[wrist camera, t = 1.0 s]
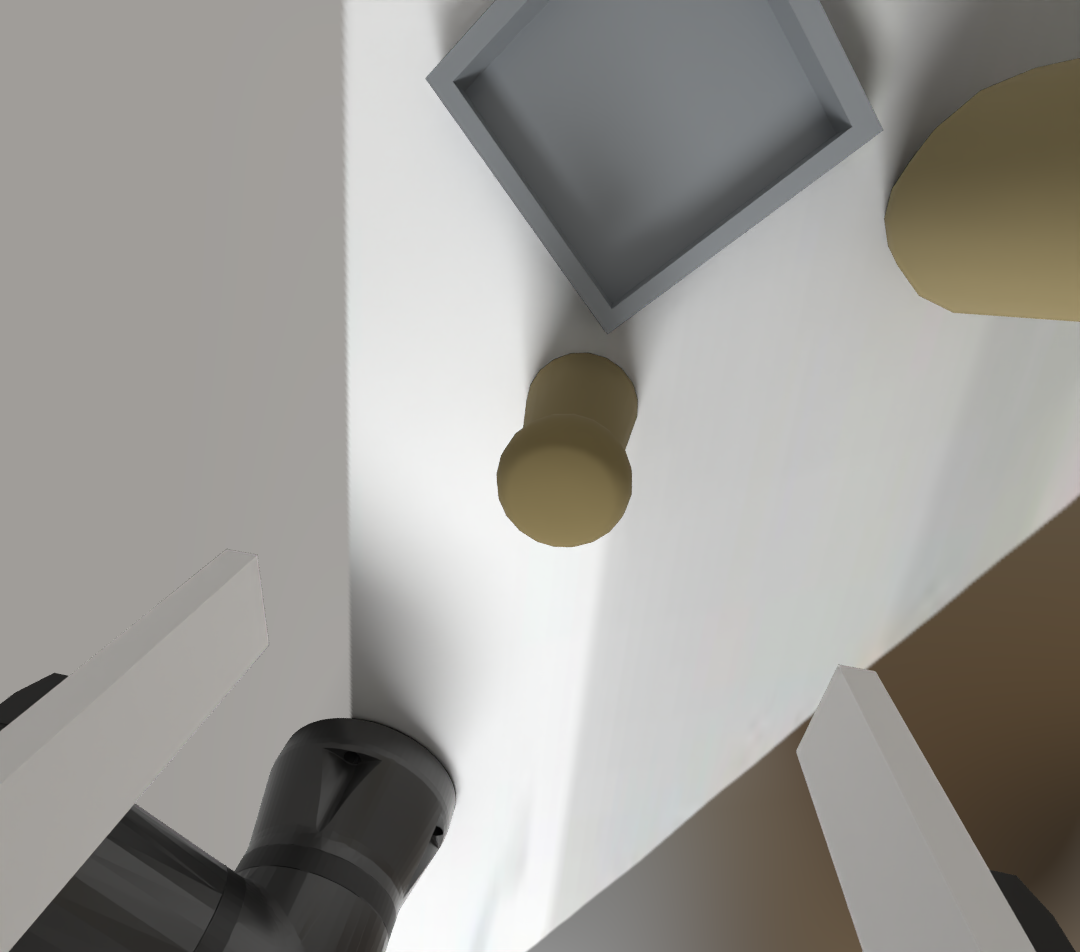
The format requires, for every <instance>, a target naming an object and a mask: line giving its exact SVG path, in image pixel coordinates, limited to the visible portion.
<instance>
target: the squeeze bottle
mask: <svg viewBox="0 0 1080 952" xmlns="http://www.w3.org/2000/svg"><path fill="white" fill-rule="evenodd" d="M884 220H885V228H886V235H887V242H888V247H889V249H890V251H891V253H892V255H893V257H894V259H895V261H896V263H897V265H898V267H899V268H900V269H901V271H902V272H903V274H904V275H905V277H906V278H907V279H908V281H909V282H910V284H911V285H912V286H913V288H914V289H915V291H916V292H917V294H918V295H919V296H921V297H923V298H925V299H927V300H929V301H931V302H933V303H935V304H937V305H939V306H941V307H943V308H945V309H947V310H949V311H951V312H953V313H965V314H979V315H993V316H1007V317H1021V318H1035V319H1050V320H1064V321H1078V322H1080V58H1078V59H1073V60H1069V61H1064V62H1060V63H1055V64H1051V65H1046V66H1042V67H1037V68H1034V69H1031V70H1029V71H1026V72H1024V73H1022V74H1019V75H1017V76H1014V77H1012V78H1010V79H1007V80H1005V81H1002V82H1000V83H998V84H995V85H993V86H990V87H988V88H986V89H983V90H981V91H980V92H978V93H977V94H976V95H975V96H974V97H972V98H971V99H970V100H969V101H968V102H966V103H965V104H964V105H963V106H962V107H961V108H959V109H958V110H957V111H956V112H955V113H953V114H952V115H951V116H950V117H949V118H947V119H946V120H945V121H944V122H943V123H942V124H940V125H939V126H938V127H937V128H936V129H935V130H934V131H933V132H932V133H931V135H930V136H929V137H928V139H927V140H926V141H925V142H924V144H923V145H922V146H921V148H920V149H919V150H918V151H917V153H916V154H915V155H914V157H913V158H912V159H911V161H910V162H909V164H908V165H907V167H906V168H905V170H904V171H903V173H902V174H901V176H900V177H899V179H898V180H897V182H896V184H895V185H894V187H893V188H892V191H891V195H890V199H889V203H888V206H887V210H886V214H885V218H884Z"/></svg>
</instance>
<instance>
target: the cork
mask: <svg viewBox="0 0 1080 952" xmlns="http://www.w3.org/2000/svg"><path fill="white" fill-rule="evenodd" d="M637 401H638V399H637V396H636V393H635V390H634V387H633V384H632V382H631V380H630V379H629V378H628V376H627V375H626V374H625V372H624V371H623V370H622V368H620V367H619V366H617V365H616V364H614V363H613V362H612V361H610V360H609V359H607V358H605V357H601V356H598V355H595V354H591V353H570V354H568V355H565V356H562V357H559V358H556V359H554V360H553V361H551V362H550V363H549V364H547V365H546V366H545V367H544V368H542V369H541V370H540V371H539V373H538V374H537V376H536V377H535V379H534V380H533V382H532V383H531V385H530V389H529V393H528V397H527V401H526V409H525V417H524V425H523V428H522V429H521V430H520V431H518V432H517V433H516V434H515V435H514V437H513V438H512V439H511V441H510V442H509V444H508V445H507V447H506V448H505V450H504V452H503V453H502V455H501V458H500V462H499V466H498V470H497V486H498V496H499V500H500V503H501V505H502V507H503V509H504V511H505V514H506V516H507V517H508V518H509V519H510V520H511V521H512V523H513V524H514V525H515V526H516V527H517V528H518V529H519V530H520V531H521V532H523V533H524V534H526V535H527V536H529V537H531V538H532V539H534V540H535V541H537V542H540V543H544V544H547V545H550V546H554V547H575V546H579V545H583V544H587V543H591V542H594V541H595V540H597V539H599V538H600V537H602V536H604V535H605V534H607V533H609V532H610V531H611V530H612V528H613V527H614V526H615V525H616V524H617V523H618V521H619V520H620V519H621V518H622V516H623V514H624V513H625V510H626V508H627V505H628V502H629V500H630V497H631V495H632V470H631V466H630V463H629V460H628V457H627V454H626V451H625V449H626V446H627V443H628V440H629V438H630V435H631V432H632V429H633V427H634V424H635V421H636V418H637Z"/></svg>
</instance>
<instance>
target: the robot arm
mask: <svg viewBox="0 0 1080 952" xmlns="http://www.w3.org/2000/svg"><path fill="white" fill-rule="evenodd" d="M268 646H269V639H268V631H267V624H266V616H265V608H264V601H263V593H262V585H261V578H260V570H259V562H258V555H256V554H251V553H246V552H240V551H235V550H230V549H226V550H225V551H223V552H222V553H221V554H220V555H218V556H217V557H216V558H215V559H213V560H212V561H211V562H210V563H208V564H207V565H206V566H205V567H203V568H202V569H201V570H200V571H198V572H197V573H196V574H195V575H193V576H192V577H191V578H190V579H189V580H187V581H186V582H185V583H184V584H182V585H181V586H180V587H179V588H177V589H176V590H175V591H174V592H172V593H171V594H170V595H169V596H167V597H166V598H165V599H164V600H163V601H161V602H160V603H159V604H158V605H156V606H155V607H154V608H153V609H151V610H150V611H149V612H148V613H147V614H145V615H144V616H143V617H142V618H141V619H139V620H138V621H137V622H135V623H134V624H133V625H132V626H130V627H129V628H128V629H126V631H124V632H123V633H122V634H120V635H119V636H118V637H117V638H115V639H114V640H113V641H112V642H110V643H109V644H108V645H107V646H105V647H104V648H103V649H102V650H101V651H99V652H98V653H97V654H95V655H94V656H93V657H92V658H91V659H89V660H88V661H87V662H86V663H84V664H83V665H82V666H81V667H79V669H77V670H76V671H74V672H73V673H72V674H71V675H69V676H66V675H61V674H57V673H53V674H51V675H49V676H47V677H45V678H43V679H41V680H40V681H38V682H35V683H33V684H31V685H29V686H28V687H25V688H23V689H21V690H20V691H17V692H16V693H14V694H13V695H12V696H10V697H9V698H8V699H6V700H5V701H4V702H2V703H1V704H0V952H385V951H386V948H387V945H388V941H389V938H390V935H391V932H392V929H393V926H394V923H395V921H396V918H397V915H398V912H399V910H400V908H401V906H402V905H403V903H404V902H405V900H406V898H407V897H408V895H409V894H410V892H411V891H412V889H413V888H414V886H415V885H416V883H417V882H418V880H419V878H420V877H421V875H422V874H423V872H424V871H425V869H426V868H427V866H428V865H429V863H430V862H431V860H432V859H433V857H434V855H435V854H436V852H437V851H438V849H439V848H440V846H441V845H442V843H443V841H444V839H445V837H446V835H447V832H448V829H449V825H450V822H451V819H452V815H453V812H454V808H455V801H456V797H455V790H454V786H453V784H452V781H451V779H450V777H449V775H448V773H447V772H446V770H445V769H444V767H443V766H442V765H441V763H440V762H439V761H438V760H437V759H436V758H435V757H434V756H433V755H432V754H431V753H430V752H429V751H428V750H427V749H425V748H424V747H423V746H421V745H420V744H419V743H417V742H416V741H414V740H413V739H411V738H409V737H407V736H406V735H404V734H402V733H400V732H398V731H396V730H393V729H391V728H388V727H386V726H383V725H380V724H377V723H373V722H369V721H364V720H358V719H349V718H333V719H325V720H320V721H317V722H313V723H310V724H308V725H306V726H304V727H302V728H301V729H299V730H298V731H297V732H296V733H295V734H293V736H292V737H291V738H290V740H289V741H288V742H287V744H286V746H285V747H284V749H283V750H282V752H281V753H280V755H279V756H278V758H277V759H276V761H275V763H274V765H273V767H272V769H271V772H270V775H269V779H268V782H267V785H266V789H265V793H264V796H263V799H262V803H261V806H260V810H259V813H258V817H257V820H256V824H255V827H254V830H253V834H252V837H251V841H250V844H249V847H248V849H247V851H246V853H245V855H244V856H243V858H242V860H241V861H240V863H239V865H238V867H237V868H236V870H235V871H232V870H231V869H230V868H228V867H227V866H226V865H224V864H222V863H221V862H219V861H218V860H216V859H215V858H214V857H212V856H211V855H209V854H208V853H206V852H205V851H203V850H202V849H200V848H199V847H198V846H196V845H195V844H193V843H192V842H190V841H189V840H187V839H186V838H184V837H183V836H182V835H180V834H179V833H177V832H176V831H174V830H173V829H171V828H170V827H168V826H167V825H166V824H164V823H163V822H161V821H160V820H158V819H157V818H155V817H154V816H152V815H151V814H150V813H148V812H147V811H145V810H144V809H142V808H141V807H139V806H138V805H137V804H135V802H136V801H137V800H138V799H139V798H140V797H141V795H142V794H143V793H144V792H145V791H146V789H147V788H148V787H149V786H150V785H151V784H152V782H153V781H154V780H155V779H156V778H157V777H158V775H159V774H160V773H161V772H162V771H163V769H164V768H165V767H166V766H167V765H168V764H169V762H170V761H171V760H172V759H173V758H174V757H175V755H176V754H177V753H178V752H179V751H180V750H181V748H182V747H183V746H184V745H185V743H186V742H187V741H188V740H189V739H190V738H191V737H192V735H193V734H194V733H195V732H196V731H197V730H198V728H199V727H200V726H201V725H202V723H203V722H204V721H205V720H206V719H207V718H208V717H209V715H210V714H211V713H212V712H213V711H214V710H215V708H216V707H217V706H218V705H219V703H220V702H221V701H222V700H223V699H224V698H225V697H226V695H227V694H228V693H229V692H230V691H231V689H232V688H233V687H234V686H235V685H236V684H237V682H238V681H239V680H240V679H241V678H242V676H243V675H244V674H245V673H246V672H247V671H248V669H249V668H250V667H251V666H252V665H253V664H254V662H255V661H256V660H257V659H258V658H259V657H260V655H261V654H262V653H263V652H264V651H265V650H266V648H267V647H268ZM796 752H797V755H798V758H799V761H800V764H801V767H802V770H803V773H804V776H805V779H806V782H807V785H808V788H809V791H810V794H811V797H812V800H813V803H814V806H815V809H816V812H817V815H818V818H819V821H820V824H821V827H822V830H823V833H824V836H825V839H826V842H827V845H828V848H829V851H830V854H831V857H832V860H833V863H834V866H835V869H836V872H837V875H838V878H839V881H840V884H841V887H842V890H843V893H844V896H845V899H846V902H847V905H848V908H849V911H850V914H851V917H852V920H853V923H854V926H855V929H856V932H857V935H858V938H859V941H860V944H861V947H862V950H863V952H1076V951H1075V950H1074V948H1073V947H1072V945H1071V943H1070V942H1069V940H1068V939H1067V937H1066V936H1065V934H1064V932H1063V931H1062V929H1061V928H1060V926H1059V924H1058V923H1057V921H1056V920H1055V918H1054V916H1053V915H1052V914H1051V913H1050V912H1049V911H1048V910H1047V909H1046V908H1045V906H1044V905H1043V904H1042V903H1041V902H1040V901H1039V900H1038V899H1037V898H1036V897H1035V896H1034V895H1033V893H1032V892H1031V891H1030V890H1029V889H1028V888H1027V887H1026V886H1025V885H1024V884H1023V883H1022V881H1021V880H1020V879H1019V878H1018V877H1017V876H1016V875H1011V874H1006V873H1002V872H997V871H991V870H989V869H988V867H987V865H986V864H985V862H984V860H983V858H982V857H981V855H980V853H979V851H978V850H977V848H976V846H975V844H974V843H973V841H972V839H971V837H970V836H969V834H968V832H967V831H966V829H965V827H964V825H963V824H962V822H961V820H960V818H959V817H958V815H957V813H956V811H955V810H954V808H953V807H952V804H951V803H950V801H949V799H948V797H947V796H946V794H945V792H944V790H943V789H942V787H941V785H940V783H939V782H938V780H937V778H936V776H935V775H934V773H933V771H932V769H931V768H930V766H929V764H928V762H927V761H926V759H925V757H924V755H923V754H922V752H921V751H920V748H919V747H918V745H917V743H916V741H915V740H914V738H913V736H912V734H911V733H910V732H909V729H908V728H907V726H906V724H905V722H904V721H903V719H902V717H901V715H900V714H899V712H898V710H897V708H896V707H895V705H894V703H893V701H892V700H891V698H890V696H889V694H888V693H887V691H886V689H885V687H884V686H883V684H882V682H881V681H880V679H879V677H878V675H877V673H876V672H875V671H870V670H865V669H860V668H855V667H849V666H844V665H839V664H838V666H837V668H836V670H835V672H834V675H833V677H832V679H831V681H830V683H829V685H828V687H827V689H826V691H825V693H824V695H823V697H822V699H821V701H820V703H819V705H818V708H817V710H816V712H815V714H814V716H813V718H812V720H811V722H810V724H809V726H808V728H807V730H806V732H805V734H804V736H803V739H802V741H801V743H800V745H799V747H798V749H797V751H796Z"/></svg>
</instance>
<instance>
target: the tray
mask: <svg viewBox="0 0 1080 952" xmlns="http://www.w3.org/2000/svg"><path fill="white" fill-rule="evenodd" d="M425 79H426V80H427V81H428V83H429V84H430V86H431V87H432V88H433V90H434V91H435V93H436V94H437V95H438V97H439V98H440V100H441V101H442V102H443V104H444V105H445V107H446V108H447V110H448V111H449V112H450V114H451V115H452V117H453V118H454V119H455V121H456V122H457V124H458V125H459V126H460V128H461V129H462V131H463V132H464V133H465V135H466V136H467V138H468V139H469V140H470V142H471V143H472V145H473V146H474V148H475V149H476V150H477V152H478V153H479V155H480V156H481V157H482V159H483V160H484V162H485V163H486V164H487V166H488V167H489V169H490V170H491V171H492V173H493V174H494V176H495V177H496V178H497V180H498V181H499V183H500V184H501V186H502V187H503V188H504V190H505V191H506V193H507V194H508V195H509V197H510V198H511V200H512V201H513V202H514V204H515V205H516V207H517V208H518V209H519V211H520V212H521V214H522V215H523V216H524V218H525V219H526V221H527V222H528V223H529V225H530V226H531V228H532V229H533V231H534V232H535V233H536V235H537V236H538V238H539V239H540V240H541V242H542V243H543V245H544V246H545V247H546V249H547V250H548V252H549V253H550V254H551V256H552V257H553V259H554V260H555V261H556V263H557V264H558V266H559V267H560V269H561V270H562V271H563V273H564V274H565V276H566V277H567V278H568V280H569V281H570V283H571V284H572V285H573V287H574V288H575V290H576V291H577V292H578V294H579V295H580V297H581V298H582V299H583V301H584V302H585V304H586V305H587V306H588V308H589V309H590V311H591V312H592V314H593V315H594V316H595V318H596V319H597V321H598V322H599V323H600V325H601V326H602V328H603V329H604V330H605V332H606V333H607V334H609V333H610V332H611V331H613V330H614V329H615V328H617V327H618V326H619V325H621V324H622V323H623V322H625V321H626V320H628V319H629V318H630V317H632V316H633V315H634V314H636V313H637V312H638V311H640V310H641V309H642V308H644V307H645V306H646V305H648V304H649V303H651V302H652V301H653V300H655V299H656V298H657V297H659V296H660V295H661V294H663V293H664V292H665V291H667V290H668V289H669V288H671V287H672V286H673V285H675V284H676V283H678V282H679V281H680V280H682V279H683V278H684V277H686V276H687V275H688V274H690V273H691V272H692V271H694V270H695V269H696V268H698V267H699V266H701V265H702V264H703V263H705V262H706V261H707V260H709V259H710V258H711V257H713V256H714V255H715V254H717V253H718V252H719V251H721V250H722V249H723V248H725V247H726V246H728V245H729V244H730V243H732V242H733V241H734V240H736V239H737V238H738V237H740V236H741V235H742V234H744V233H745V232H746V231H748V230H749V229H750V228H752V227H753V226H755V225H756V224H757V223H759V222H760V221H761V220H763V219H764V218H765V217H767V216H768V215H769V214H771V213H772V212H773V211H775V210H776V209H778V208H779V207H780V206H782V205H783V204H784V203H786V202H787V201H788V200H790V199H791V198H792V197H794V196H795V195H796V194H798V193H799V192H800V191H802V190H803V189H805V188H806V187H807V186H809V185H810V184H811V183H813V182H814V181H815V180H817V179H818V178H819V177H821V176H822V175H823V174H825V173H826V172H828V171H829V170H830V169H832V168H833V167H834V166H836V165H837V164H838V163H840V162H841V161H842V160H844V159H845V158H846V157H848V156H849V155H850V154H852V153H853V152H855V151H856V150H857V149H859V148H860V147H861V146H863V145H864V144H865V143H867V142H868V141H869V140H871V139H872V138H873V137H875V136H876V135H878V134H879V133H880V132H882V131H883V128H882V126H881V124H880V122H879V120H878V118H877V116H876V114H875V112H874V110H873V108H872V106H871V104H870V102H869V100H868V98H867V96H866V94H865V92H864V90H863V88H862V86H861V84H860V82H859V80H858V78H857V76H856V74H855V72H854V70H853V68H852V65H851V63H850V61H849V59H848V57H847V55H846V53H845V51H844V49H843V47H842V45H841V43H840V41H839V39H838V37H837V35H836V33H835V31H834V29H833V27H832V25H831V23H830V21H829V19H828V17H827V15H826V13H825V11H824V9H823V7H822V5H821V3H820V1H819V0H495V1H494V2H493V4H492V5H491V6H490V7H489V8H488V9H487V10H486V11H485V12H484V14H483V15H482V16H481V17H480V18H479V19H478V20H477V21H476V23H475V24H474V25H473V26H472V27H471V28H470V29H469V30H468V31H467V33H466V34H465V35H464V36H463V37H462V38H461V39H460V40H459V42H458V43H457V44H456V45H455V46H454V47H453V48H452V49H451V50H450V52H449V53H448V54H447V55H446V56H445V57H444V58H443V59H442V61H441V62H440V63H439V64H438V65H437V66H436V67H435V68H434V69H433V71H432V72H431V73H430V74H429V75H428V76H427V77H426V78H425Z"/></svg>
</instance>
